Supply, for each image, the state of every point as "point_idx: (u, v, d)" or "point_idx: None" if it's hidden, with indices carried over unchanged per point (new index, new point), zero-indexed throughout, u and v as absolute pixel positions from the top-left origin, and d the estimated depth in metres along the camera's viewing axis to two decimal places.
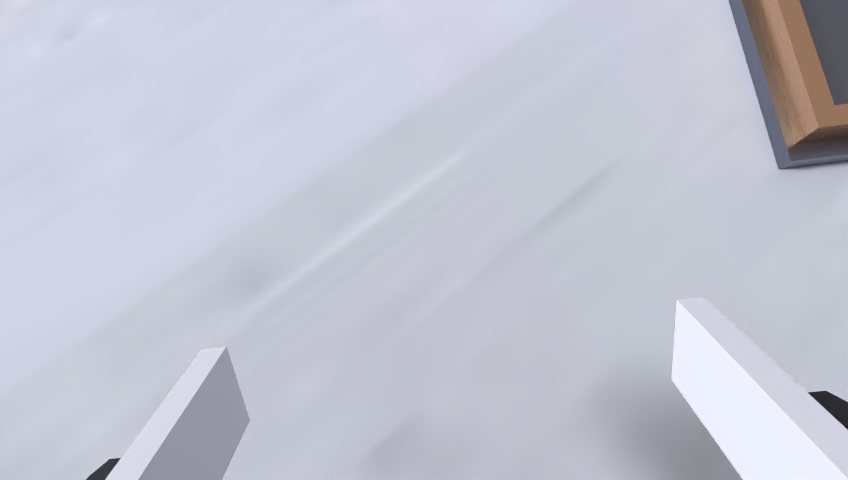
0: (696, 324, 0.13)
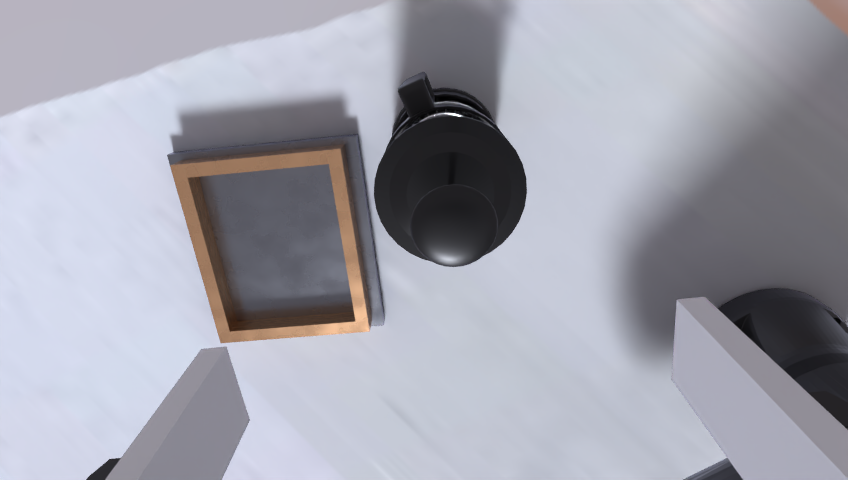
0: (696, 324, 0.13)
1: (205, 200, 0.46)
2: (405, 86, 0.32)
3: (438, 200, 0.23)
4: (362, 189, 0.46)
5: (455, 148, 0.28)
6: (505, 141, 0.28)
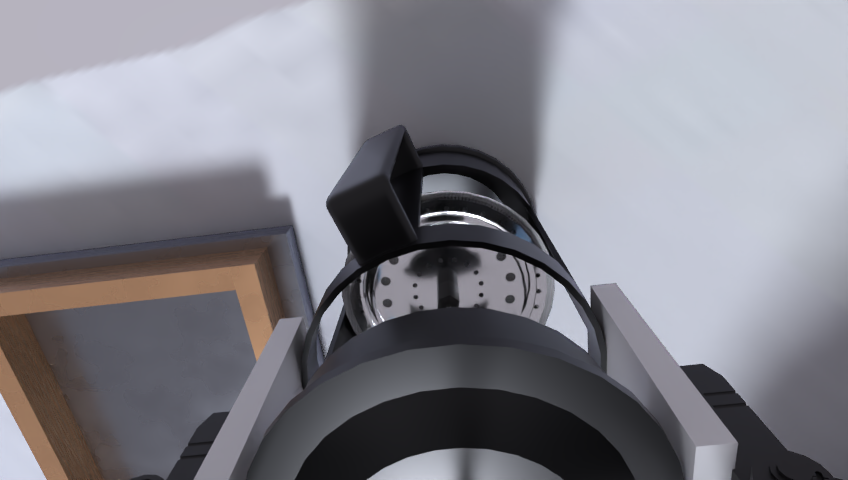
0: (602, 307, 0.14)
1: (38, 341, 0.27)
2: (343, 194, 0.13)
3: None
4: (305, 318, 0.26)
5: (476, 431, 0.09)
6: (633, 408, 0.09)
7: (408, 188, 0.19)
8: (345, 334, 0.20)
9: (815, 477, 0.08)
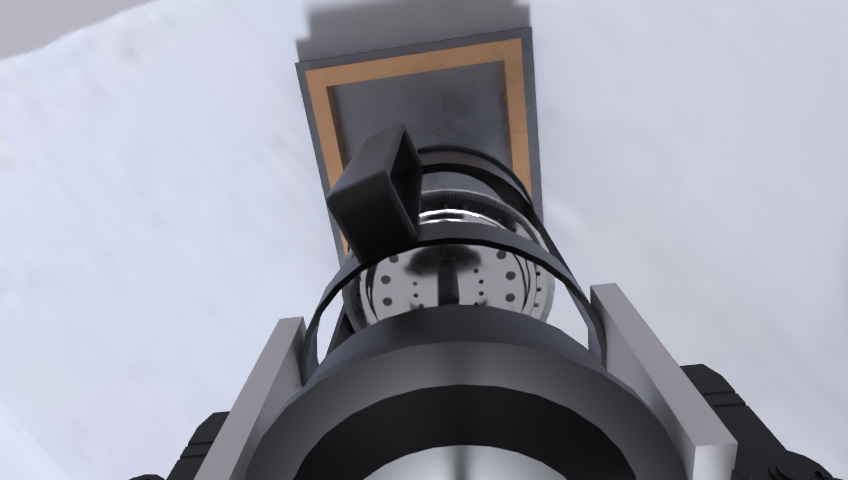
0: (602, 307, 0.14)
1: (338, 120, 0.38)
2: (343, 191, 0.13)
3: None
4: (534, 97, 0.37)
5: (476, 429, 0.09)
6: (634, 405, 0.09)
7: (408, 186, 0.19)
8: (345, 333, 0.20)
9: (815, 477, 0.08)
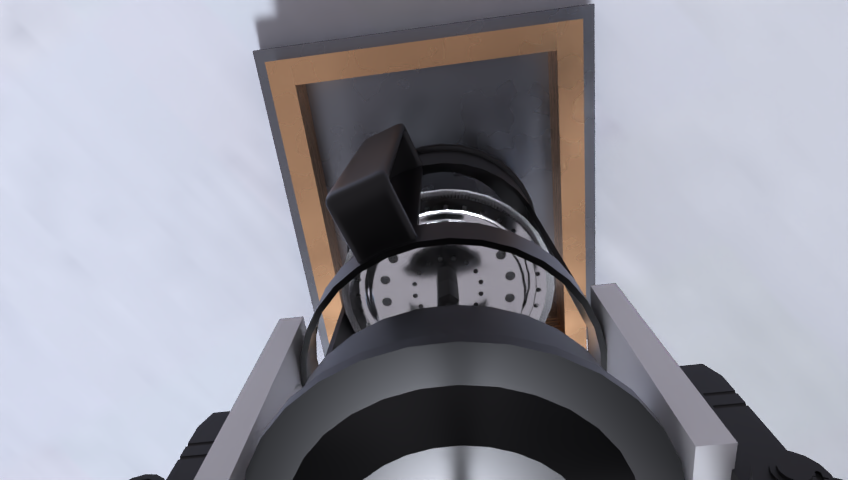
0: (602, 307, 0.14)
1: (315, 133, 0.27)
2: (342, 192, 0.13)
3: None
4: (592, 105, 0.26)
5: (476, 429, 0.09)
6: (633, 405, 0.09)
7: (408, 186, 0.19)
8: (345, 333, 0.20)
9: (815, 477, 0.08)
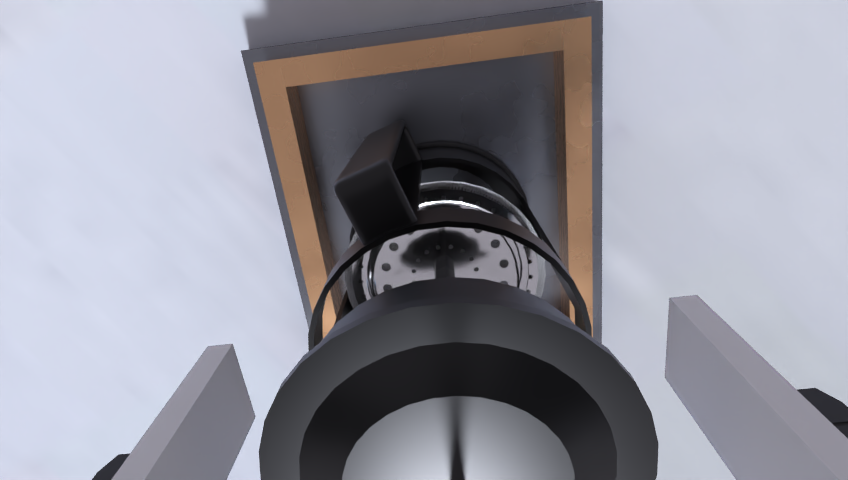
0: (688, 322, 0.13)
1: (308, 138, 0.25)
2: (349, 178, 0.14)
3: None
4: (600, 108, 0.25)
5: (469, 382, 0.10)
6: (608, 361, 0.10)
7: (408, 178, 0.20)
8: None
9: None
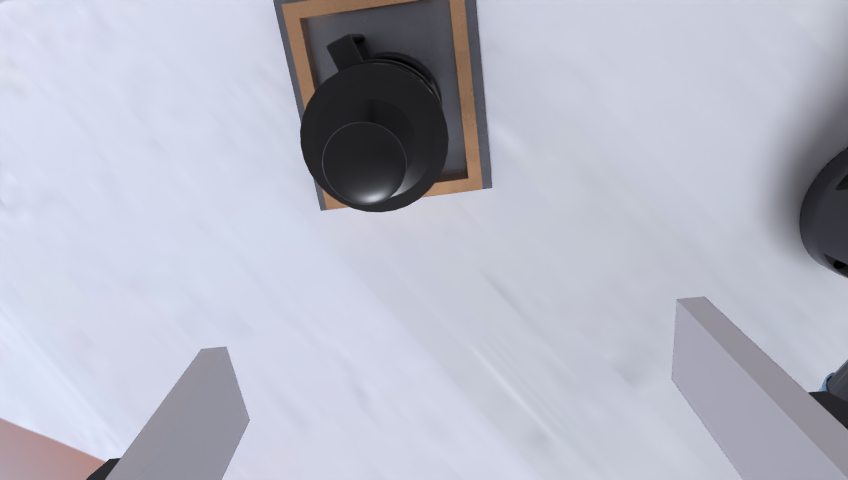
0: (696, 324, 0.13)
1: (311, 51, 0.44)
2: (333, 42, 0.33)
3: (346, 138, 0.24)
4: (477, 31, 0.44)
5: (375, 96, 0.29)
6: (423, 87, 0.29)
7: None
8: None
9: None
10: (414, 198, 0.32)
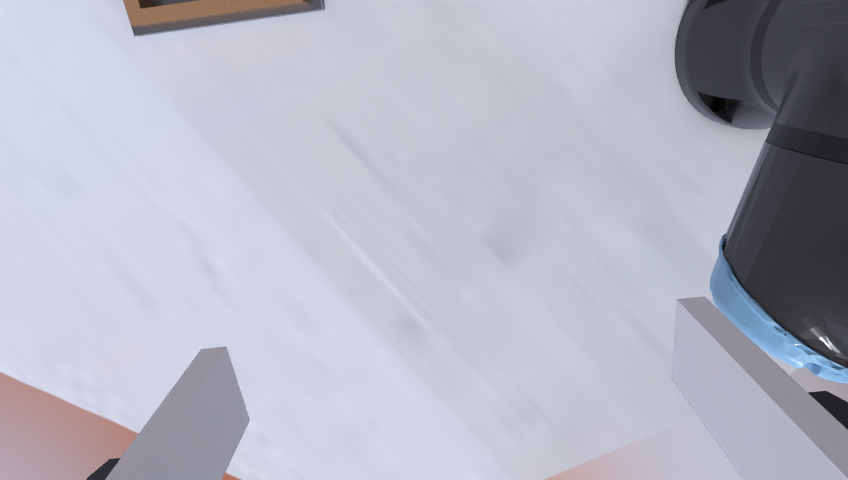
0: (696, 324, 0.13)
1: None
2: None
3: None
4: None
5: None
6: None
7: None
8: None
9: None
10: None
